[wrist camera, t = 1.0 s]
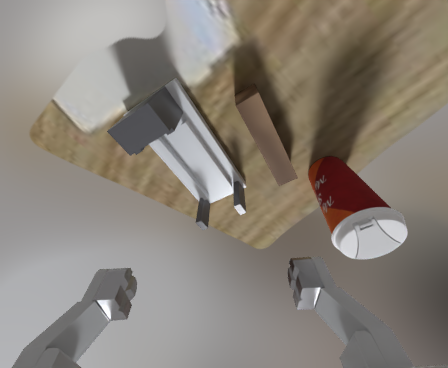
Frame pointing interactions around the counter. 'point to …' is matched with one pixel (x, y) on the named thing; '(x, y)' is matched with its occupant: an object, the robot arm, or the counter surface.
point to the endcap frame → (182, 147)
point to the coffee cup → (355, 211)
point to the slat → (264, 134)
